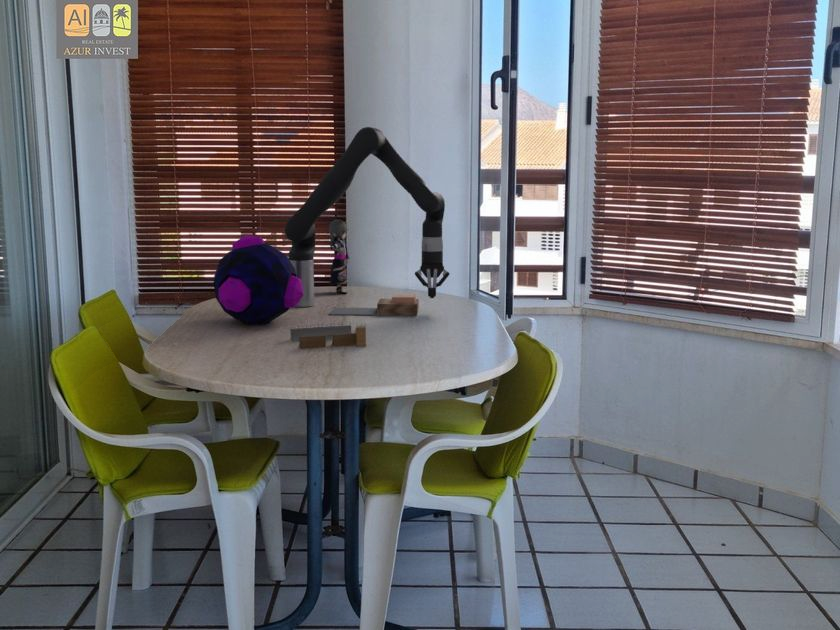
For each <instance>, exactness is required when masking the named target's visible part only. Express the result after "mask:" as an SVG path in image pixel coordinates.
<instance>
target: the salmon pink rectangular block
mask: <svg viewBox="0 0 840 630" xmlns="http://www.w3.org/2000/svg"><path fill="white" fill-rule="evenodd" d="M391 299H392V303H415V299H416V294H392V296H391Z"/></svg>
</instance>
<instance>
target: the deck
mask: <svg viewBox="0 0 840 630" xmlns="http://www.w3.org/2000/svg"><path fill="white" fill-rule="evenodd" d="M419 302H420V301H419V298H415V303H392V298H379V299H378V302H377V304H376V305H377V306H376V308H377V311H376V313H377V316H405V315H417V316H418V314H417V313H419V310H418V309H420V308H419Z"/></svg>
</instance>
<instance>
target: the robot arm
mask: <svg viewBox="0 0 840 630" xmlns="http://www.w3.org/2000/svg"><path fill="white" fill-rule="evenodd" d="M352 138H353V139H352V140H351V142H350V143H349V145H348V146H347V148H346V149H345V151H344V152H343V154H342V155H341V156H340V158H339V159H338V160H337V161H336V162H335V163H334V164H333V166H332V167H331V168H330V169H329V170H328V172H326V174H325V175H324V176H323V178H322V179H321V180H320V181H319V183H318V185H317V186H316V187H315V189H313V191H312V192H311V194H310V195H309V196H308V198H307V200H306V201H305V202H304V203H303V204H302V206H301V207H299V209H298V210H297V211H296V212H294V214H293V215H292V216H291V217H289V218H288V220H287V221H286V223H285V225H284V234H285V237H286V238H287V240H289V241H290V242H291V247H290V250H289V251H288V255H287V257H288V258H289V260H290V261H291V263H292V265H293V266H294V268H295V271H296V277H297V278H299V279H301V281H302V288H303V294H304V295H303V297H302V298H301V300H300V301H299V303H298V304H297V306H296V307H295V308H297V307H298V308H299V307H300V308H306V307H312V306H314V305H315V281H314V280H315V275H314V274H315V273H314V272H315V270H314V265H315V263H314V256H315V255H314V254H315V251H316V225H315V223H316V222H317V220H318V219H319V218H320V216H322V215H323V214H324V213H325V212H326V211H327V210H329V209H330V208H331V207H333V206H334V205H335V204H336V203H337V202H338V201H340V199H341V198H342V197H343V195H344V194H345V193H346V192H347V191H348V189H349V188H350V186H351V184H352V183H353V180H354V178H355V175H356V172H357V171H358V169H359V168H360V166H361V164H362V163H363V162H364V161H365V160H366V159H367V158H368V157H369V156H370V155H372V156H374V157H376V158H377V159H378V160H379V161H381V162H382V163H383V165H385V166H386V168H388V170H389V171H390V173H391V174H392V176H393V178H394V179H395V180H396V182H397V183H398V184H399V185H400V186H401V187H402V189H404V190H405V191H406V192H407V193H408V194H410V196H411V198H412V199H413V201H414V202H415V204H416V205H417V207H419V208H420V209H421V210H422V211H423V212H424V213H425V219H424V220H423V222H422V231H421V232H422V233H421V237H422V238H421V265H420V267H419V269H418V270H416V271H414V276H415V277H416V278H417V280H418V281H419V282H420V283H421V284H422V286H423V287H426V288H427V297H428V298H429V299H435V297H437V288H438V287H441V286H442V285H443V283H445V281H446V280H447V278H448V277H449V276H450V271H448V270H446V269H445V266H444V253H443V252H444V243H443V241H444V240H443V221H444V217H445V216H444V215H445V206H446V205H445V198H444V197H443V194H441V193H439V192H435V191H434V192H432V191H431V190H430V188H429V187H428V186H427V185H426V181H425V180H424V178H423V177H422V176H421V175H420V174H419V173H418V172H417V171H416V170H415V169H414V168H412V167H411V166H410V165H409V163H408V162H407V161H406V160H405V159H404V158H403V157H402V156H401V155H400V154H399V153H398V152H397V150H396V149H395V147H394V146H393V145H392V144H391V143H390V141H389V139H388V138H387V137H386V135H385V134H384V132H382V130H381V129H378V128H376V127H371V126H366V127H362V128H361V129H360V130H358V131H357V133H356V134H355V135H354V137H352ZM441 274H442V277H441V279H440V280H439V281H437V280H438V278H440V275H441ZM422 275H424V277H425V278H427V279H426V280H427V281H426V280H425V279H424V278H423V277H422Z"/></svg>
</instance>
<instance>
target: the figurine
mask: <svg viewBox="0 0 840 630" xmlns="http://www.w3.org/2000/svg"><path fill="white" fill-rule="evenodd" d="M347 231H348V227H347V224H346V222H345V221H343V220H342V219H333V220H332V221H331V222H330V224H329V225H328V232H329V238H330V239H329V241H330V245H329V247H330V250H331V251H333V252H334V253H333V254H334V255H333V260H332V264H331V269H330V276H329V277H330V279H329V285H330V286H336V288H335V290H336V294H340V293H347V294H348V292H349V291H348V289H345V288H343V287H342V286H343V285H345V286H347V285H348V277H347V268H346V265H350V263H349V262H350V256H349V253H348V247H347V245H346V242H345V239H347V235H346V234H347Z"/></svg>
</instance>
